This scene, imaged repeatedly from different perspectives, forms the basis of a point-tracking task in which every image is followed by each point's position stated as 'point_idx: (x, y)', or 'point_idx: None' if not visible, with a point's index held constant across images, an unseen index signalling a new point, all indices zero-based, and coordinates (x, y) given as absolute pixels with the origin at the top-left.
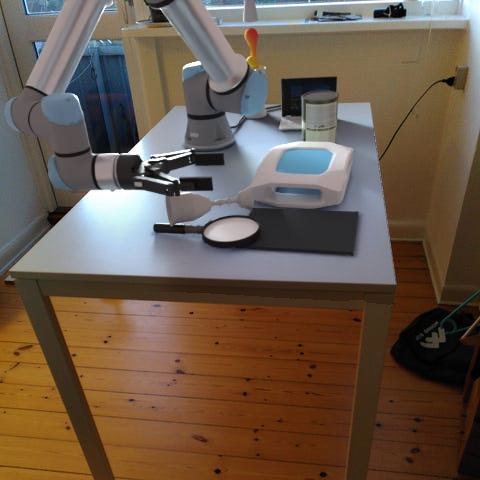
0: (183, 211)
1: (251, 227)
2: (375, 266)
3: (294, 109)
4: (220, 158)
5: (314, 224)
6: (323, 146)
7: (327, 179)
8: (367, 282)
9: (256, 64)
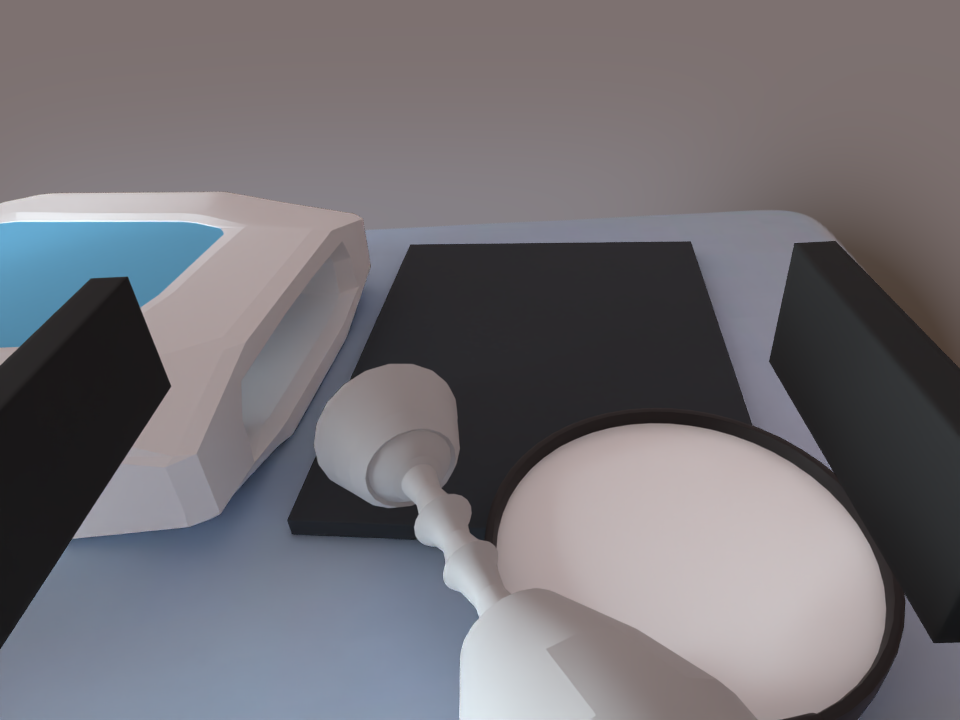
0: None
1: (631, 453)
2: (732, 225)
3: None
4: (131, 342)
5: (509, 313)
6: None
7: (290, 214)
8: (826, 231)
9: None
